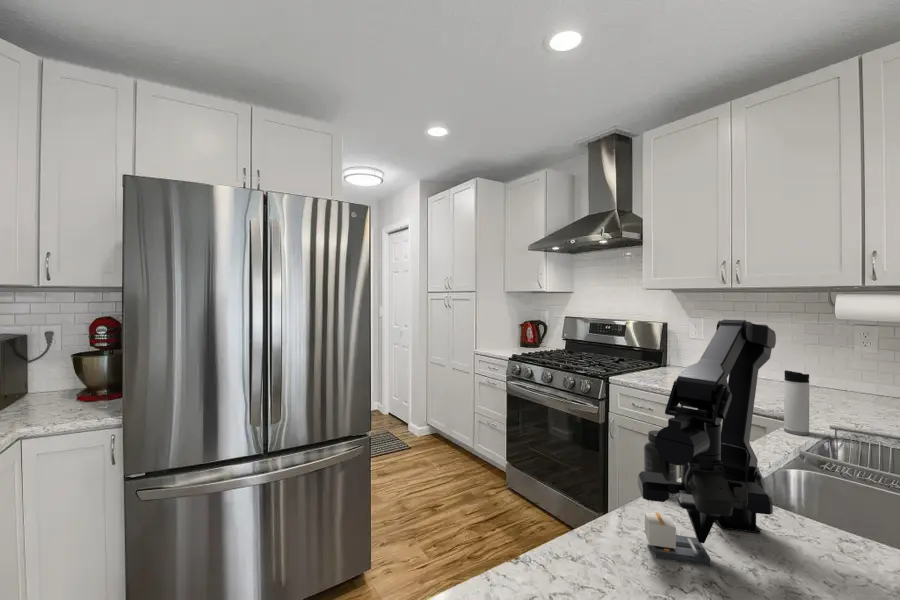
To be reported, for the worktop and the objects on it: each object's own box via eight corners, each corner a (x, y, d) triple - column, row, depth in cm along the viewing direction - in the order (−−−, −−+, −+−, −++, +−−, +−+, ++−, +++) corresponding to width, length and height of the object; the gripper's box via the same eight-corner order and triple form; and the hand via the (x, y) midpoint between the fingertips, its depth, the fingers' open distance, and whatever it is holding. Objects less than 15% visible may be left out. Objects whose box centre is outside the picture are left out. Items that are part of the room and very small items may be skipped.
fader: (669, 535, 73) (669, 513, 73) (675, 548, 69) (675, 525, 69) (644, 532, 74) (644, 510, 74) (649, 544, 70) (649, 522, 70)
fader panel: (698, 544, 73) (698, 537, 73) (710, 566, 67) (710, 557, 67) (648, 538, 75) (648, 530, 75) (655, 558, 69) (656, 550, 69)
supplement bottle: (666, 478, 100) (666, 428, 100) (683, 491, 93) (683, 438, 93) (638, 479, 100) (638, 428, 100) (653, 492, 93) (653, 438, 93)
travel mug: (778, 429, 138) (778, 369, 138) (796, 429, 138) (796, 368, 138) (795, 436, 131) (796, 372, 131) (814, 435, 132) (814, 372, 132)
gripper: (648, 461, 65) (649, 561, 65) (791, 475, 60) (790, 583, 60) (637, 438, 76) (637, 524, 76) (757, 448, 71) (757, 540, 71)
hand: (700, 541), depth 70 cm, fingers closed
